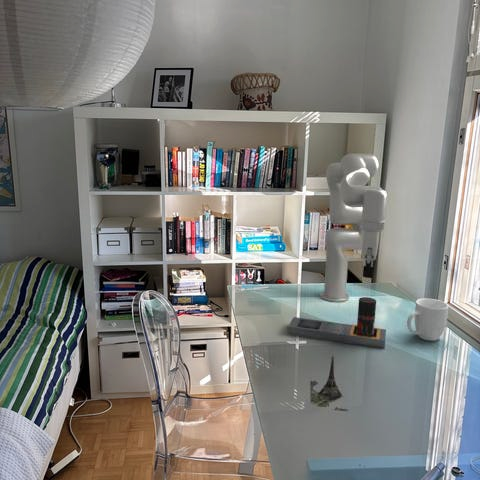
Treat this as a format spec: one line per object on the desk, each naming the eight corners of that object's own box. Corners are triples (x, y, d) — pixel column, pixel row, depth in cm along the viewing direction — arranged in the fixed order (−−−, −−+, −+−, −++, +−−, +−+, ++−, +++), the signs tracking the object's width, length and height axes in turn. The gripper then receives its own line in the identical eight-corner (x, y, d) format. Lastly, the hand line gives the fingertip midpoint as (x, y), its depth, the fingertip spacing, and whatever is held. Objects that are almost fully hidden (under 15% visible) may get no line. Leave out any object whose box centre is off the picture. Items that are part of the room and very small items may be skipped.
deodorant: (373, 343, 170) (377, 303, 166) (356, 342, 171) (359, 302, 167) (372, 337, 175) (375, 297, 172) (355, 335, 176) (358, 296, 173)
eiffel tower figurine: (309, 381, 144) (312, 340, 141) (344, 384, 143) (347, 342, 140) (310, 409, 130) (313, 364, 127) (349, 413, 128) (352, 367, 126)
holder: (293, 324, 185) (293, 316, 185) (385, 337, 175) (386, 329, 175) (287, 334, 176) (288, 326, 175) (384, 348, 166) (385, 339, 165)
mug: (416, 346, 168) (419, 311, 165) (397, 333, 178) (400, 300, 176) (451, 341, 173) (455, 307, 170) (430, 329, 183) (434, 297, 180)
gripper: (362, 220, 174) (359, 265, 178) (359, 229, 158) (355, 279, 162) (384, 221, 171) (380, 268, 175) (383, 231, 155) (378, 282, 159)
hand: (368, 273), depth 168 cm, fingers open, 9 cm apart
